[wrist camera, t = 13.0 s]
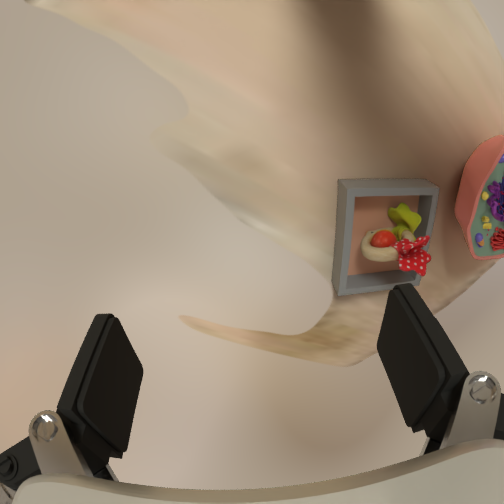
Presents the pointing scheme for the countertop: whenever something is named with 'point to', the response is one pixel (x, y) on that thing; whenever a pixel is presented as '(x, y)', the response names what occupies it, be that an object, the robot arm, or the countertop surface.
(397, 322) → the robot arm
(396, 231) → the bird rattle
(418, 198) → the grey picture frame
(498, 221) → the cell model
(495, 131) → the countertop surface
